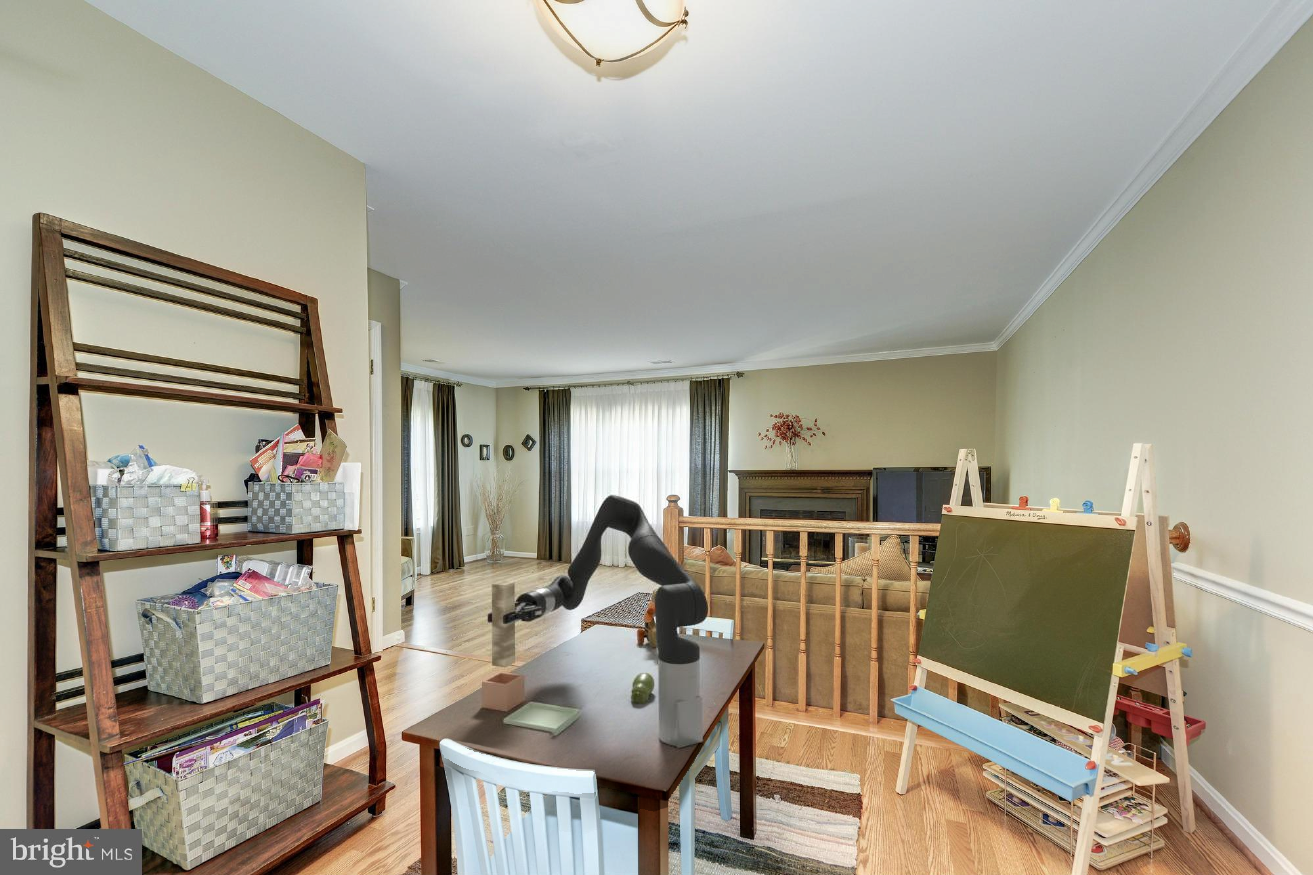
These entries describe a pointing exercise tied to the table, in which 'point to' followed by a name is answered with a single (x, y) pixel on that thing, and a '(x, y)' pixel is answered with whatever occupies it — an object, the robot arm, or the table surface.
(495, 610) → the post
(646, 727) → the table surface
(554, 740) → the table surface
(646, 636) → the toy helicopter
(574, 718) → the tray
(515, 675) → the salmon pink open box
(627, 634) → the table surface
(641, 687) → the pear
